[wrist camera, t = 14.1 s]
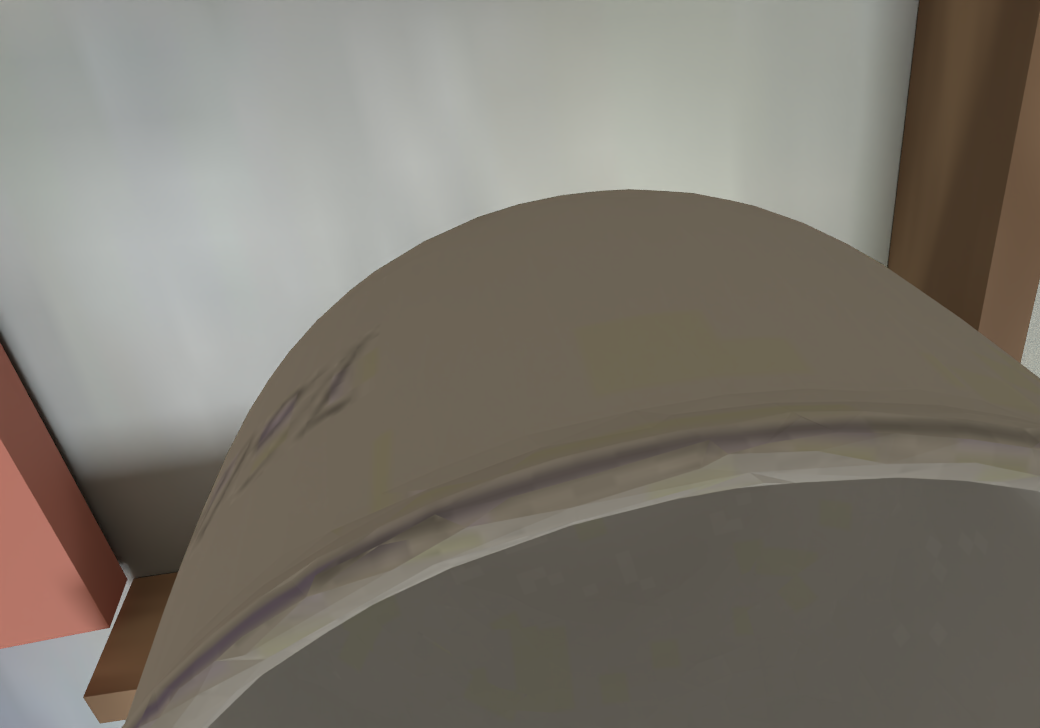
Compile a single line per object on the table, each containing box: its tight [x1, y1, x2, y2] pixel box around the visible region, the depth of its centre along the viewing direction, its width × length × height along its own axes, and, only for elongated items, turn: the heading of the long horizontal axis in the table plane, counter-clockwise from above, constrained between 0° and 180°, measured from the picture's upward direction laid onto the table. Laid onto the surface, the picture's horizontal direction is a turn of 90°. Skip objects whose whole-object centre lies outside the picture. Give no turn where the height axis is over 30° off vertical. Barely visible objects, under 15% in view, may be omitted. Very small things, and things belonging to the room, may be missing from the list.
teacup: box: [122, 189, 1040, 728], centre depth 11 cm, size 14×11×8 cm
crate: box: [83, 0, 1040, 723], centre depth 21 cm, size 25×20×4 cm
